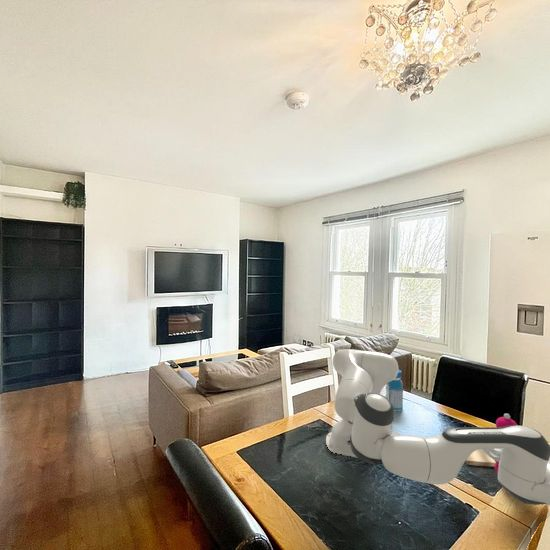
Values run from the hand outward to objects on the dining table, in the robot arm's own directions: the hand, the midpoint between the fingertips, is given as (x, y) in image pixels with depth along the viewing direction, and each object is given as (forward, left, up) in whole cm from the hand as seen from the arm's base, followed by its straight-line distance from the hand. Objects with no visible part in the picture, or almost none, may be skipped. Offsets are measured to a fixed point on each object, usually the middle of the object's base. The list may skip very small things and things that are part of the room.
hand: (504, 438), depth 102 cm
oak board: (0, +16, -15) cm, 22 cm away
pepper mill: (0, -1, -11) cm, 12 cm away
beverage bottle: (-23, +52, -15) cm, 59 cm away
